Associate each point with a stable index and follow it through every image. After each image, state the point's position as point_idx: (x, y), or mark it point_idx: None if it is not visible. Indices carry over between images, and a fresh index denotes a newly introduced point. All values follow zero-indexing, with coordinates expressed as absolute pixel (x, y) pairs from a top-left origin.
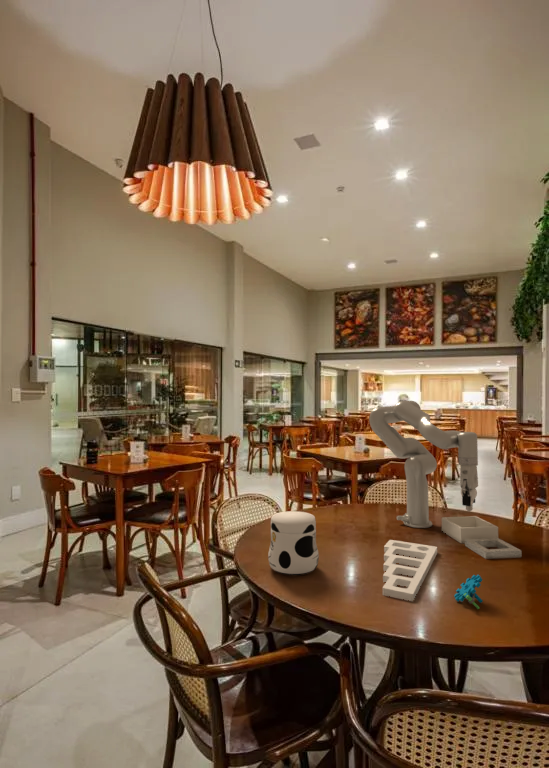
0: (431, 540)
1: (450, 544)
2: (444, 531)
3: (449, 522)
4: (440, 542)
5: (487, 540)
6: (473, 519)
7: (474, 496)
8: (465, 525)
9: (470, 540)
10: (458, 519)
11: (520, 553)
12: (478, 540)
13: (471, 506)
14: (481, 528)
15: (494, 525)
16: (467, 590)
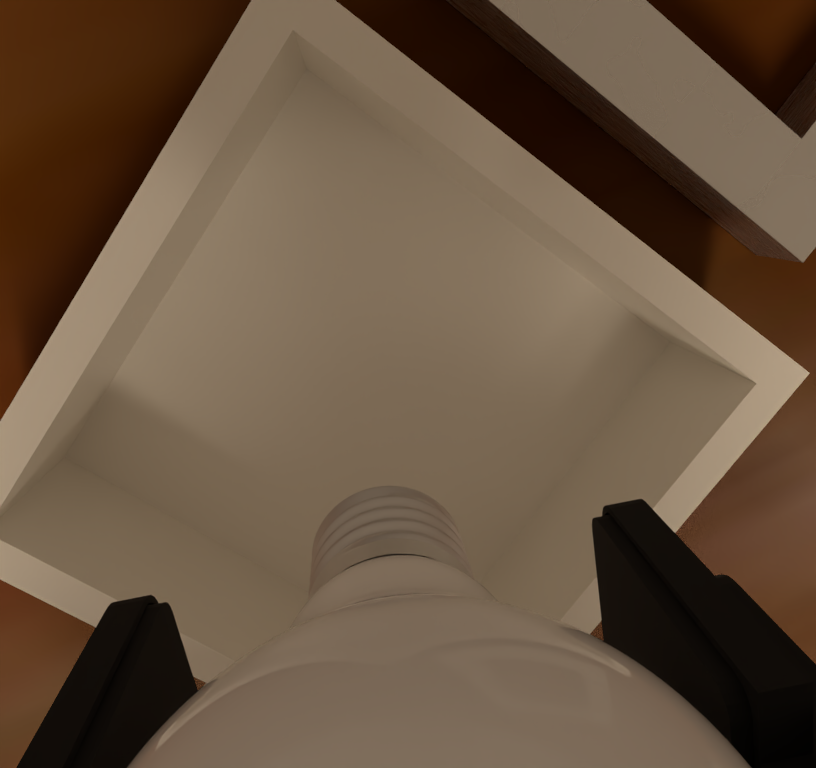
0: (801, 577)
1: (804, 389)
2: None
3: (586, 628)
4: (806, 489)
5: (650, 19)
6: (34, 525)
7: (546, 616)
8: (182, 547)
9: (798, 194)
10: None
11: None
12: (729, 116)
13: (420, 534)
14: (542, 166)
15: (243, 48)
16: None
